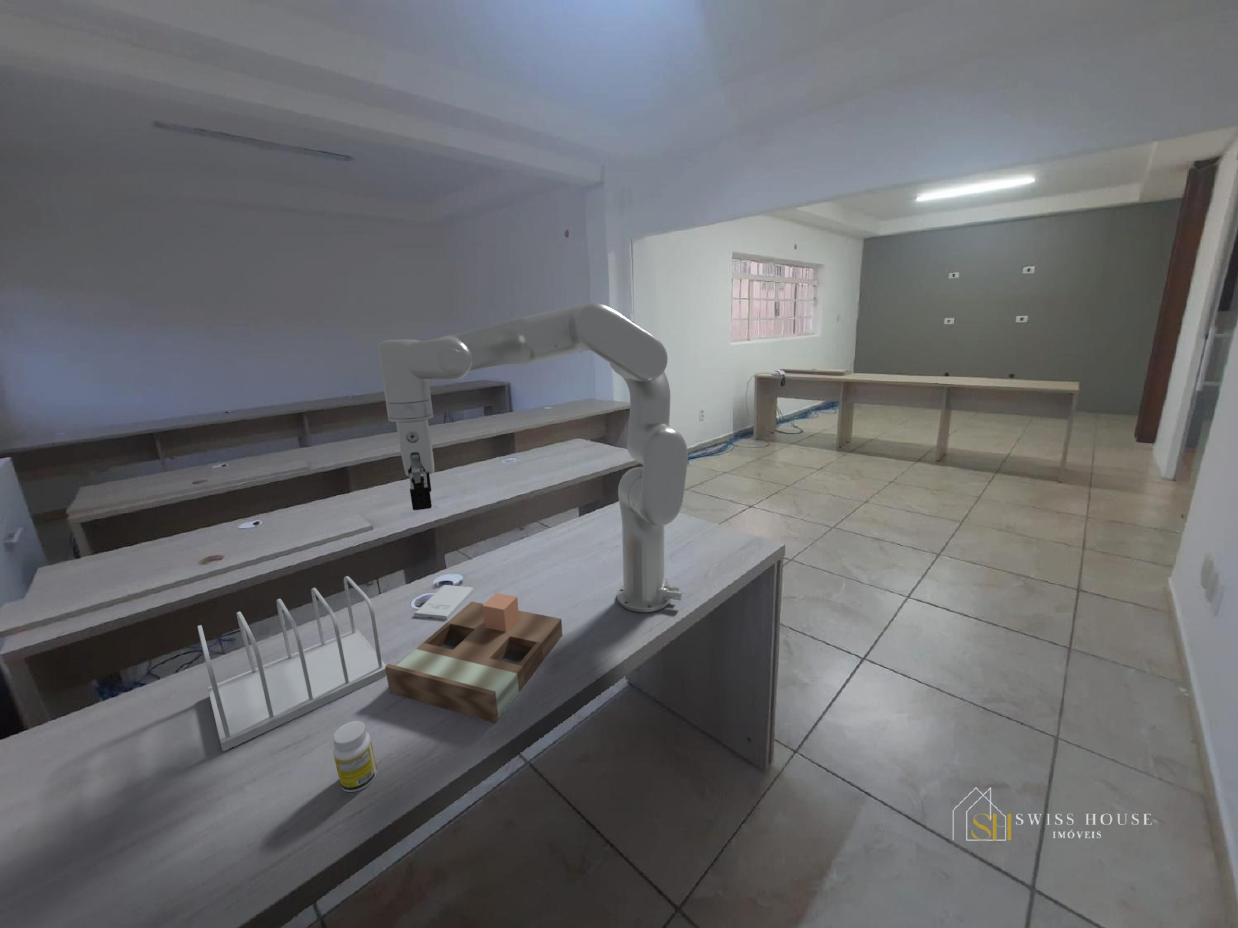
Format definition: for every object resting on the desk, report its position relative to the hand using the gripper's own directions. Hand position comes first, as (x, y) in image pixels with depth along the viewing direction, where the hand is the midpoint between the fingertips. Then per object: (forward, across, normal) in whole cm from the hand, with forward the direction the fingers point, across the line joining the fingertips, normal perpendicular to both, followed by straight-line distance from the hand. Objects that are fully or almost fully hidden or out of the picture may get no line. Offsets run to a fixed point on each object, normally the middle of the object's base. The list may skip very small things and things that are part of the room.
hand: (422, 500), depth 93 cm
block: (+27, -4, -12) cm, 30 cm away
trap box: (+31, -9, -7) cm, 33 cm away
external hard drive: (+32, +16, -1) cm, 36 cm away
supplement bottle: (+31, -29, +12) cm, 44 cm away
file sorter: (+32, -3, +25) cm, 40 cm away
